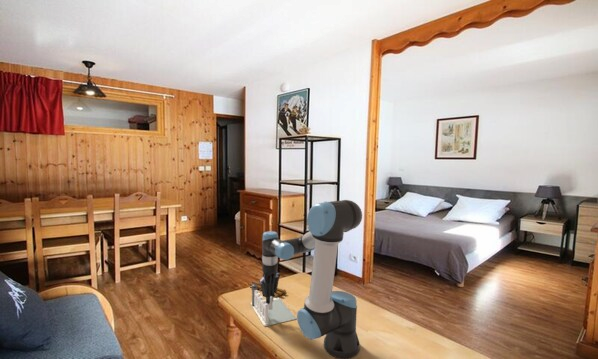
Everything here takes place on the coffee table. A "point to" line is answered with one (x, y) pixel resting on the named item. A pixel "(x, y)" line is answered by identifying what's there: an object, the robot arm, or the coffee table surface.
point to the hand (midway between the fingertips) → (269, 308)
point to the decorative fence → (278, 293)
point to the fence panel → (261, 305)
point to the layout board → (276, 313)
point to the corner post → (254, 287)
